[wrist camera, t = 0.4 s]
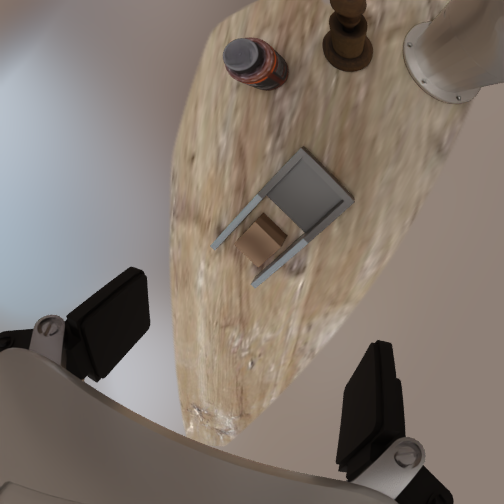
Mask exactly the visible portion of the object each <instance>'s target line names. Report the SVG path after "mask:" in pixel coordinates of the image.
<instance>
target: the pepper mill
mask: <svg viewBox="0 0 504 504" xmlns="http://www.w3.org/2000/svg"><path fill="white" fill-rule="evenodd" d="M330 4H331V6H332V8H333V9H334V10H335V12H334V13H332V15H331V16H330V19H329V25H330V31H329V32H328V33H327V34H326V35H325V37H324V39H323V51H324V55H325V57H326V59H327V60H328V61H329V62H330V63H331V64H332V65H333V66H334V67H336V68H338V69H340V70H343V71H350V72H353V71H358V70H361V69H363V68H365V67H366V66H367V65H368V64H369V62H370V60H371V58H372V54H373V48H372V44H371V42H370V40H369V39H368V37H367V36H366V32H367V21H366V19H365V18H364V16H363V15H362V14H363V13H364V12H365V10H366V6H367V4H366V0H330Z"/></svg>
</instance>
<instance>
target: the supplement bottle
mask: <svg viewBox="0 0 504 504" xmlns="http://www.w3.org/2000/svg"><path fill="white" fill-rule="evenodd" d="M223 60H224V63H225V66H226V69H227V71H228V73H229V74H230V75H231V76H232V77H233V78H234V79H236V80H238V81H240V82H242V83H245V84H248V85H250V86H253V87H255V88H258V89H261V90H273V89H276V88H278V87H280V86H281V85H282V84H283V83H284V82H285V81H286V79H287V76H288V66H287V63H286V62H285V60H284V59H283V58H282V57H281V56H280V55H279V54H278V53H277V52H276V51H275V50H274V49H273V48H272V47H271V46H270V45H269V44H268V43H266V42H265V41H263V40H261V39H258V38H240V39H236V40H233V41H232V42H230V43H229V44H228V45H227V46H226V48H225V49H224V52H223Z"/></svg>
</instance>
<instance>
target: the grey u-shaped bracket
mask: <svg viewBox="0 0 504 504" xmlns="http://www.w3.org/2000/svg"><path fill="white" fill-rule="evenodd" d="M266 195H267V196H268V197H269V198H270V199H271V200H272V201H273V202H274V203H275V204H276V205H277V206H278V207H279V208H280V209H281V210H282V211H283V212H284V213H286V214H287V215H288V216H289V217H290V218H291V219H292V220H293V221H294V222H295V223H296V224H297V225H298V226H299V227H300V228H301V229H302V230H303V231H304V232H305V233H304V234H303V235H302V236H301V237H300V238H299V239H297V240H296V241H295V242H294V243H293V244H292V245H291V246H290V247H288V248H287V249H286V250H285V251H284V252H283V253H282V254H281V255H279V256H278V257H277V258H276V259H275V260H274V261H273V262H272V263H270V264H269V265H268V266H267V267H266V268H265V269H264V270H263V271H261V272H260V273H259V274H258V275H257V276H256V277H255V278H254V280H253V281H252V283H251V285H252V286H253V287H254V288H256V287H258V286H259V285H260V284H261V283H262V282H263V281H265V280H266V279H267V278H268V277H269V276H271V275H272V274H273V273H274V272H275V271H276V270H278V269H279V268H280V267H281V266H282V265H283V264H285V263H286V262H287V261H288V260H289V259H290V258H292V257H293V256H294V255H295V254H296V253H297V252H299V251H300V250H301V249H302V248H303V247H304V246H306V245H307V244H308V243H309V242H310V241H311V240H312V239H314V238H315V237H316V236H317V235H318V234H319V233H320V232H322V231H323V230H324V229H325V228H326V227H327V226H328V225H329V224H331V223H332V222H333V221H334V220H335V219H336V218H337V217H338V216H340V215H341V214H342V213H343V212H344V211H345V210H346V209H347V208H349V207H350V206H351V205H352V204H353V203H354V202H355V201H354V197H353V196H352V195H351V194H350V193H349V192H348V191H347V190H346V189H345V188H344V186H343V185H342V184H341V183H340V182H339V181H338V180H337V179H336V178H335V177H334V176H333V175H332V174H331V173H330V172H329V171H328V170H327V169H326V168H325V167H324V166H323V165H322V164H321V163H320V162H319V161H318V160H317V159H316V158H315V157H314V156H313V155H312V154H311V153H310V152H309V151H307V150H306V149H305V148H304V147H302V148H300V149H299V150H298V151H297V152H296V154H295V155H294V156H293V157H292V158H291V159H290V160H289V161H288V162H287V163H286V164H285V165H284V166H283V167H282V168H281V169H280V170H279V171H278V172H277V173H276V174H275V176H274V177H273V178H272V179H271V180H270V181H269V182H268V183H267V184H266V185H265V186H264V187H263V188H262V189H261V191H260V192H259V193H258V194H257V195H256V196H255V197H254V198H253V199H252V200H251V201H250V202H249V204H248V205H247V206H246V207H245V208H244V209H243V210H242V211H241V212H240V213H239V214H238V216H237V217H236V218H235V219H234V220H233V221H232V222H231V223H230V224H229V226H228V227H227V228H226V229H225V230H224V231H223V232H222V233H221V234H220V236H219V237H218V238H217V239H216V240H215V241H214V242H213V243H212V245H211V247H212V248H213V249H214V250H216V249H217V248H218V247H219V246H220V245H221V244H222V242H223V241H224V240H225V239H226V238H227V237H228V236H229V235H230V234H231V233H232V232H233V231H234V229H235V228H236V227H237V226H238V225H239V224H240V223H241V222H242V221H243V220H244V219H245V218H246V217H247V216H248V214H249V213H250V212H251V211H252V210H253V209H254V208H255V207H256V206H257V205H258V204H259V203H260V202H261V201H262V200H263V199H264V197H265V196H266Z"/></svg>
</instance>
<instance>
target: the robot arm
mask: <svg viewBox="0 0 504 504" xmlns="http://www.w3.org/2000/svg"><path fill="white" fill-rule="evenodd" d="M407 45H409V46H410V48H409V47H408V46H407ZM403 55H404V60H405V63H406V66H407V68H408V70H409V73H410V74H411V76H412V77H413V79H414V80H415V82H416V83H417V84H418V85H419V86H420V87H421V88H422V89H423V90H424V91H425V92H426V93H428V94H429V95H431V96H432V97H434V98H436V99H438V100H440V101H442V102H446V103H451V104H460V103H464V102H468V101H470V100H471V99H473V98H474V97H475V96H476V95H477V94H478V92H479V90H480V88H481V87H484V86H488V85H493V84H498V83H503V82H504V0H451V1H450V2H449V3H448V4H447V5H446V7H445V8H444V9H443V10H442V11H441V12H440V14H439V15H438V16H437V17H436V18H435V19H434V21H433V22H423V23H420V24H417V25H416V26H414V27H413V28H412V29H411V30H410V31H409V32H408V34H407V35H406V37H405V40H404V43H403ZM421 81H423V82H424V84H422V82H421ZM456 97H457V98H458V100H457V99H456ZM66 317H67V320H66V321H65V322H64V320H63V319H62V318H61V317H60V316H57V315H47V316H44V317H42V318H41V319H39V320H38V321H37V322H36V324H35V326H34V329H26V330H14V331H4V332H1V333H0V504H453V496H452V494H451V493H450V491H449V490H448V489H447V488H445V486H444V485H443V484H442V483H441V482H439V481H438V479H436V478H435V476H434V475H432V474H431V473H430V472H429V470H428V469H426V467H425V466H424V465H423V464H424V462H425V450H424V448H423V446H422V445H421V444H420V443H419V441H417V440H415V439H413V438H410V437H406V436H405V419H404V406H403V395H402V386H401V381H400V380H399V379H398V378H396V371H395V363H394V356H393V349H392V344H391V343H389V342H385V341H380V340H377V341H376V342H375V343H371V344H370V345H369V348H368V349H367V351H366V353H365V355H364V357H363V358H362V360H361V362H360V364H359V365H358V367H357V368H356V370H355V372H354V373H353V375H352V377H351V378H350V380H349V382H348V383H347V385H346V387H345V390H344V396H343V407H342V417H341V426H340V434H339V442H338V449H337V456H336V464H339V470H338V471H340V472H347V474H346V478H347V479H348V480H346V481H341V480H335V479H330V478H325V477H320V476H314V475H309V474H304V473H299V472H295V471H290V470H286V469H282V468H278V467H274V466H270V465H266V464H262V463H259V462H255V461H252V460H249V459H245V458H242V457H239V456H236V455H232V454H230V453H227V452H224V451H221V450H218V449H215V448H212V447H210V446H207V445H205V444H202V443H200V442H197V441H195V440H192V439H190V438H187V437H185V436H183V435H180V434H178V433H176V432H174V431H171V430H169V429H167V428H165V427H163V426H161V425H159V424H157V423H154V422H152V421H151V420H149V419H147V418H145V417H142V416H141V415H139V414H137V413H135V412H133V411H131V410H130V409H128V408H126V407H124V406H122V405H120V404H119V403H117V402H115V401H114V400H112V399H110V398H109V397H107V396H105V395H104V394H102V393H101V392H99V391H97V390H96V389H94V388H93V387H91V386H90V385H88V384H87V383H85V382H84V378H85V377H86V376H88V377H89V378H91V379H92V380H94V381H95V382H98V381H99V380H100V379H101V378H105V377H106V376H107V375H108V374H109V373H110V371H111V370H112V369H113V368H114V367H115V366H116V365H117V364H118V363H119V361H120V360H121V359H122V358H123V357H124V356H125V355H126V354H127V353H128V351H129V350H130V349H131V348H132V347H133V346H134V345H135V343H137V341H138V340H139V339H140V338H141V337H142V336H143V335H144V334H145V333H146V331H147V330H148V329H149V326H150V314H149V302H148V288H147V277H146V275H145V274H144V272H143V271H142V270H140V269H137V268H134V267H129V268H128V269H127V270H125V271H124V272H122V273H121V274H120V275H118V276H117V277H116V278H114V279H113V280H112V281H110V282H109V283H108V284H106V285H105V286H104V287H103V288H101V289H100V290H99V291H97V292H96V293H95V294H93V295H92V296H91V297H90V298H88V299H87V300H86V301H84V302H83V303H82V304H81V305H79V306H78V307H77V308H76V309H74V310H73V311H72V312H70V313H69V314H68V315H67V316H66Z"/></svg>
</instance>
